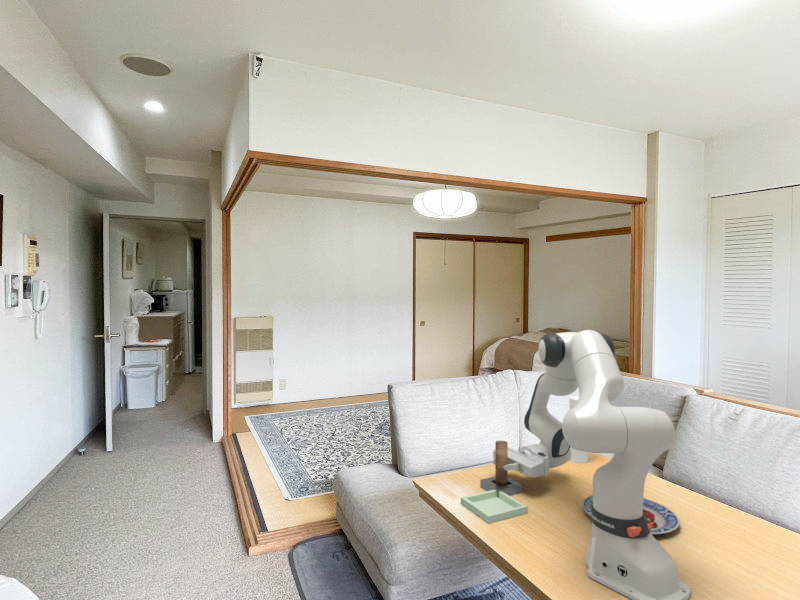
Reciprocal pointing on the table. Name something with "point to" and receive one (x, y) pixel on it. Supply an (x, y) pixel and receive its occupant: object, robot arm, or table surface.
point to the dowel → (501, 462)
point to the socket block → (508, 489)
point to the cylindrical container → (575, 454)
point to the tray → (493, 506)
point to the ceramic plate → (650, 515)
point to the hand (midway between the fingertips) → (499, 465)
